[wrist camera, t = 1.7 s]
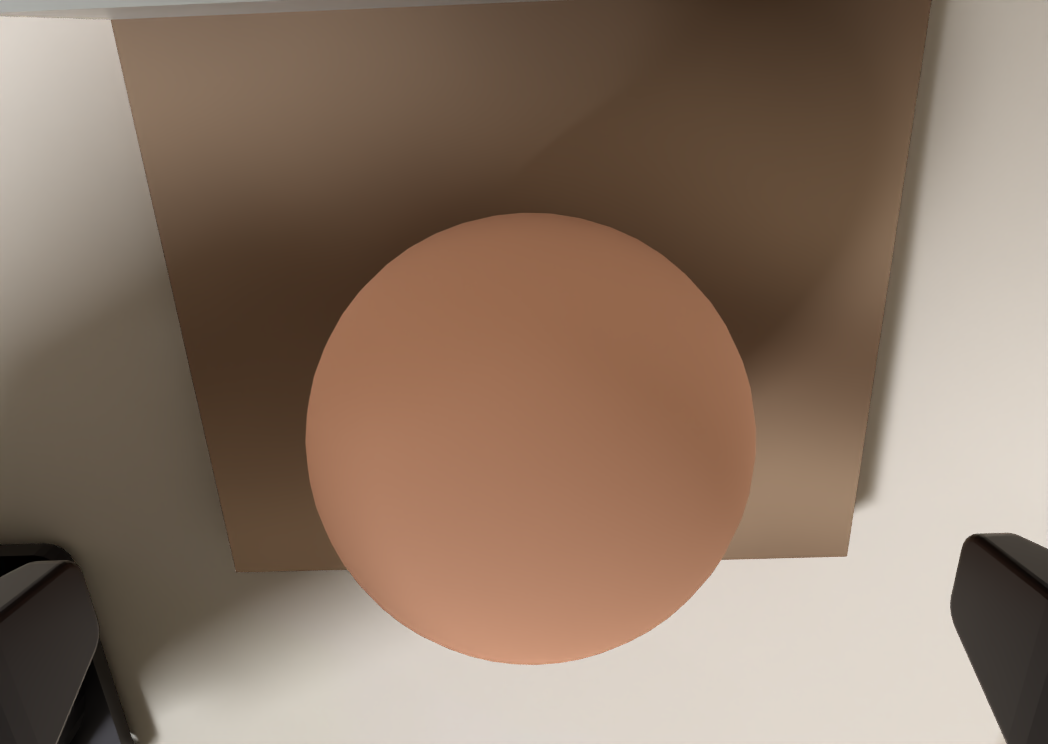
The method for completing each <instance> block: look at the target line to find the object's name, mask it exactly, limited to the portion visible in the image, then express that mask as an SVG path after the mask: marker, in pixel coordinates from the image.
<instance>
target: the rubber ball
mask: <svg viewBox="0 0 1048 744" xmlns="http://www.w3.org/2000/svg"><path fill="white" fill-rule="evenodd" d="M305 444H306V455H307V465H308V473H309V480H310V485H311V489H312V493H313V497H314V501H315V505H316V508H317V511H318V513H319V516H320V518H321V521H322V523H323V526H324V528H325V531H326V533H327V535H328V537H329V539H330V541H331V544H332V545H333V547H334V549H335V551H336V552H337V554H338V556H339V557H340V559H341V561H342V563H343V564H344V566H345V567H346V568H347V570H348V571H349V572H350V573H351V575H352V576H353V577H354V579H355V580H356V581H357V583H358V584H359V585H360V586H361V587H362V588H363V589H364V590H365V591H366V593H367V594H368V595H369V596H370V597H371V598H372V599H373V600H374V601H375V602H376V603H377V604H378V605H379V606H380V607H381V608H382V609H383V610H385V611H386V612H387V613H388V614H390V615H391V616H392V617H393V618H395V619H396V620H397V621H399V622H400V623H401V624H403V625H404V626H406V627H408V628H409V629H411V630H412V631H414V632H416V633H417V634H419V635H421V636H422V637H424V638H427V639H429V640H431V641H433V642H435V643H437V644H439V645H441V646H444V647H446V648H448V649H451V650H454V651H457V652H459V653H462V654H465V655H468V656H471V657H476V658H480V659H484V660H488V661H493V662H501V663H509V664H528V665H539V664H553V663H562V662H567V661H573V660H579V659H583V658H586V657H590V656H593V655H597V654H600V653H603V652H606V651H608V650H611V649H613V648H616V647H618V646H620V645H623V644H625V643H628V642H630V641H632V640H634V639H635V638H637V637H639V636H641V635H643V634H645V633H647V632H648V631H650V630H652V629H653V628H655V627H656V626H657V625H659V624H660V623H662V622H663V621H665V620H666V619H668V618H669V617H670V616H671V615H672V614H674V613H675V612H676V611H677V610H678V609H679V608H680V607H681V606H683V605H684V604H685V603H686V602H687V601H688V600H689V599H690V598H691V597H692V596H693V595H694V593H695V592H696V591H697V590H698V589H699V588H700V587H701V586H702V584H703V583H704V582H705V581H706V580H707V579H708V578H709V576H710V575H711V574H712V573H713V571H714V570H715V568H716V567H717V565H718V564H719V562H720V561H721V559H722V558H723V556H724V555H725V553H726V551H727V548H728V546H729V544H730V542H731V540H732V538H733V536H734V534H735V532H736V530H737V528H738V526H739V523H740V521H741V519H742V516H743V513H744V510H745V507H746V504H747V501H748V497H749V494H750V487H751V481H752V475H753V469H754V463H755V456H756V424H755V416H754V409H753V402H752V394H751V388H750V384H749V381H748V377H747V374H746V371H745V367H744V364H743V361H742V359H741V357H740V354H739V352H738V350H737V348H736V346H735V344H734V341H733V339H732V337H731V335H730V333H729V331H728V329H727V326H726V325H725V323H724V322H723V320H722V318H721V317H720V315H719V314H718V312H717V311H716V309H715V308H714V306H713V305H712V303H711V302H710V301H709V300H708V299H707V297H706V296H705V295H704V294H703V293H702V292H701V291H700V290H699V288H698V287H697V286H696V285H695V284H694V283H693V282H692V281H691V280H690V279H689V278H688V276H687V275H686V274H685V273H684V272H682V271H681V270H680V269H679V268H678V267H676V266H675V265H674V264H673V263H672V262H670V261H669V260H668V259H667V258H666V257H664V256H663V255H662V254H660V253H659V252H657V251H656V250H654V249H652V248H651V247H649V246H648V245H646V244H644V243H643V242H641V241H640V240H638V239H636V238H634V237H631V236H629V235H627V234H625V233H623V232H620V231H618V230H616V229H614V228H611V227H608V226H605V225H602V224H598V223H595V222H592V221H588V220H585V219H581V218H576V217H570V216H564V215H557V214H551V213H515V214H505V215H495V216H491V217H486V218H482V219H478V220H474V221H469V222H465V223H462V224H459V225H456V226H454V227H451V228H449V229H446V230H443V231H441V232H438V233H436V234H434V235H432V236H430V237H428V238H426V239H424V240H423V241H421V242H419V243H417V244H415V245H413V246H412V247H410V248H408V249H407V250H406V251H404V252H403V253H402V254H400V255H399V256H398V257H396V258H395V259H394V260H392V261H391V262H389V263H388V264H387V265H386V266H385V267H384V268H383V269H382V270H381V271H380V272H379V273H378V274H377V275H376V276H375V277H374V278H373V279H371V280H370V281H369V282H368V283H367V284H366V285H365V286H364V288H363V289H362V290H361V291H360V292H359V293H358V294H357V296H356V297H355V298H354V299H353V301H352V302H351V303H350V305H349V306H348V307H347V309H346V310H345V311H344V313H343V314H342V316H341V317H340V319H339V321H338V323H337V325H336V327H335V328H334V330H333V332H332V334H331V336H330V337H329V339H328V342H327V344H326V346H325V348H324V350H323V353H322V356H321V358H320V361H319V364H318V367H317V369H316V372H315V375H314V379H313V383H312V388H311V393H310V398H309V403H308V411H307V421H306V439H305Z"/></svg>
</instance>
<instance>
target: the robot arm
mask: <svg viewBox="0 0 1048 744" xmlns="http://www.w3.org/2000/svg"><path fill="white" fill-rule="evenodd" d="M950 609H951V616H952V620H953V623H954V626H955V628H956V631H957V633H958V635H959V637H960V640H961V642H962V644H963V646H964V649H965V651H966V653H967V655H968V658H969V660H970V662H971V664H972V667H973V669H974V671H975V673H976V676H977V678H978V680H979V682H980V685H981V687H982V689H983V691H984V694H985V696H986V698H987V700H988V703H989V705H990V707H991V709H992V712H993V714H994V716H995V718H996V721H997V723H998V725H999V727H1000V730H1001V732H1002V734H1003V736H1004V739H1005V741H1006V743H1007V744H1048V549H1047V548H1045V547H1043V546H1040V545H1038V544H1036V543H1034V542H1032V541H1030V540H1027V539H1025V538H1023V537H1021V536H1019V535H1016V534H1012V533H985V534H973V535H971V536H969V537H968V538H967V539H966V540H965V542H964V544H963V546H962V550H961V554H960V559H959V563H958V568H957V572H956V577H955V581H954V586H953V590H952V595H951V602H950ZM0 744H133V740H132V737H131V734H130V731H129V728H128V725H127V722H126V719H125V716H124V713H123V710H122V707H121V704H120V701H119V697H118V694H117V691H116V688H115V685H114V682H113V679H112V676H111V673H110V670H109V667H108V664H107V661H106V658H105V654H104V651H103V648H102V645H101V642H100V639H99V625H98V620H97V617H96V614H95V611H94V607H93V604H92V601H91V598H90V595H89V592H88V589H87V586H86V582H85V579H84V576H83V573H82V571H81V569H80V568H79V566H78V565H77V564H76V563H75V562H74V561H73V559H72V557H71V555H70V554H68V553H67V552H66V551H65V550H64V549H62V548H60V547H58V546H56V545H52V544H8V545H0Z"/></svg>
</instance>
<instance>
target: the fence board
mask: <svg viewBox="0 0 1048 744" xmlns="http://www.w3.org/2000/svg"><path fill="white" fill-rule="evenodd" d="M931 1H932V0H0V16H6V17H40V18H73V19H106V20H111V23H112V28H113V32H114V37H115V41H116V45H117V50H118V54H119V59H120V63H121V67H122V72H123V76H124V81H125V85H126V89H127V94H128V98H129V103H130V107H131V112H132V116H133V120H134V125H135V129H136V134H137V138H138V142H139V147H140V151H141V156H142V160H143V164H144V169H145V173H146V178H147V182H148V186H149V191H150V195H151V200H152V204H153V208H154V213H155V217H156V222H157V226H158V230H159V235H160V239H161V244H162V248H163V253H164V257H165V261H166V266H167V270H168V275H169V279H170V283H171V288H172V292H173V297H174V301H175V305H176V310H177V314H178V319H179V323H180V327H181V332H182V336H183V341H184V345H185V349H186V354H187V358H188V363H189V367H190V372H191V376H192V380H193V385H194V389H195V394H196V398H197V402H198V407H199V411H200V416H201V420H202V424H203V429H204V433H205V438H206V442H207V446H208V451H209V455H210V460H211V464H212V468H213V473H214V477H215V482H216V486H217V490H218V495H219V499H220V504H221V508H222V513H223V517H224V521H225V526H226V530H227V535H228V539H229V543H230V548H231V552H232V557H233V561H234V565H235V570H236V572H270V571H309V570H347V568H346V567H345V566H344V564H343V563H342V561H341V559H340V557H339V556H338V554H337V552H336V551H335V549H334V547H333V545H332V544H331V541H330V539H329V537H328V535H327V533H326V531H325V528H324V526H323V523H322V521H321V518H320V516H319V513H318V511H317V508H316V505H315V501H314V497H313V493H312V489H311V485H310V480H309V473H308V465H307V455H306V444H305V439H306V421H307V411H308V403H309V398H310V393H311V388H312V383H313V379H314V375H315V372H316V369H317V367H318V364H319V361H320V358H321V356H322V353H323V350H324V348H325V346H326V344H327V342H328V339H329V337H330V336H331V334H332V332H333V330H334V328H335V327H336V325H337V323H338V321H339V319H340V317H341V316H342V314H343V313H344V311H345V310H346V309H347V307H348V306H349V305H350V303H351V302H352V301H353V299H354V298H355V297H356V296H357V294H358V293H359V292H360V291H361V290H362V289H363V288H364V286H365V285H366V284H367V283H368V282H369V281H370V280H371V279H373V278H374V277H375V276H376V275H377V274H378V273H379V272H380V271H381V270H382V269H383V268H384V267H385V266H386V265H387V264H388V263H389V262H391V261H392V260H394V259H395V258H396V257H398V256H399V255H400V254H402V253H403V252H404V251H406V250H407V249H408V248H410V247H412V246H413V245H415V244H417V243H419V242H421V241H423V240H424V239H426V238H428V237H430V236H432V235H434V234H436V233H438V232H441V231H443V230H446V229H449V228H451V227H454V226H456V225H459V224H462V223H465V222H469V221H474V220H478V219H482V218H486V217H491V216H495V215H505V214H515V213H551V214H557V215H564V216H570V217H576V218H581V219H585V220H588V221H592V222H595V223H598V224H602V225H605V226H608V227H611V228H614V229H616V230H618V231H620V232H623V233H625V234H627V235H629V236H631V237H634V238H636V239H638V240H640V241H641V242H643V243H644V244H646V245H648V246H649V247H651V248H652V249H654V250H656V251H657V252H659V253H660V254H662V255H663V256H664V257H666V258H667V259H668V260H669V261H670V262H672V263H673V264H674V265H675V266H676V267H678V268H679V269H680V270H681V271H682V272H684V273H685V274H686V275H687V276H688V278H689V279H690V280H691V281H692V282H693V283H694V284H695V285H696V286H697V287H698V288H699V290H700V291H701V292H702V293H703V294H704V295H705V296H706V297H707V299H708V300H709V301H710V302H711V303H712V305H713V306H714V308H715V309H716V311H717V312H718V314H719V315H720V317H721V318H722V320H723V322H724V323H725V325H726V326H727V329H728V331H729V333H730V335H731V337H732V339H733V341H734V344H735V346H736V348H737V350H738V352H739V354H740V357H741V359H742V361H743V364H744V367H745V371H746V374H747V377H748V381H749V384H750V388H751V394H752V402H753V409H754V416H755V424H756V456H755V463H754V469H753V475H752V481H751V487H750V494H749V497H748V501H747V504H746V507H745V510H744V513H743V516H742V519H741V521H740V523H739V526H738V528H737V530H736V532H735V534H734V536H733V538H732V540H731V542H730V544H729V546H728V548H727V551H726V553H725V555H724V556H723V558H722V559H721V560H729V559H767V558H805V557H844V556H847V552H848V545H849V539H850V532H851V526H852V519H853V513H854V506H855V500H856V493H857V486H858V480H859V473H860V467H861V460H862V454H863V447H864V440H865V434H866V427H867V421H868V414H869V408H870V401H871V394H872V388H873V381H874V375H875V368H876V362H877V355H878V349H879V342H880V335H881V329H882V322H883V316H884V309H885V303H886V296H887V289H888V283H889V276H890V270H891V263H892V257H893V250H894V244H895V237H896V230H897V224H898V217H899V211H900V204H901V198H902V191H903V184H904V178H905V171H906V165H907V158H908V152H909V145H910V139H911V132H912V125H913V119H914V112H915V106H916V99H917V93H918V86H919V79H920V73H921V66H922V60H923V53H924V47H925V40H926V34H927V27H928V20H929V14H930V7H931Z"/></svg>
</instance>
